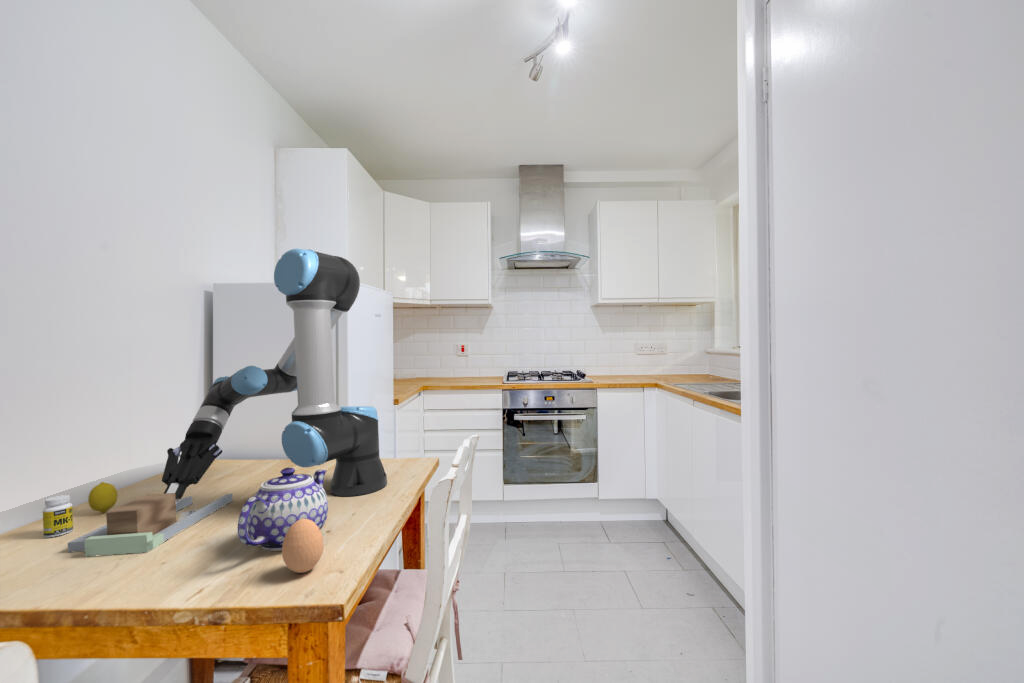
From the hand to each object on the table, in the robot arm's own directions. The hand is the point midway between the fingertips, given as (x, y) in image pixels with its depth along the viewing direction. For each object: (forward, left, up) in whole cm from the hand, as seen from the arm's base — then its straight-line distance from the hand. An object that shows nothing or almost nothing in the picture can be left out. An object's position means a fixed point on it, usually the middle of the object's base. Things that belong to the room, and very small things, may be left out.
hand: (164, 511), depth 102 cm
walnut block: (-4, +5, -3) cm, 8 cm away
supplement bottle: (+19, +14, -4) cm, 24 cm away
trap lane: (+2, +1, -3) cm, 4 cm away
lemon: (+27, +4, -4) cm, 28 cm away
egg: (-51, -2, -4) cm, 51 cm away
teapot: (-36, -9, -4) cm, 37 cm away
